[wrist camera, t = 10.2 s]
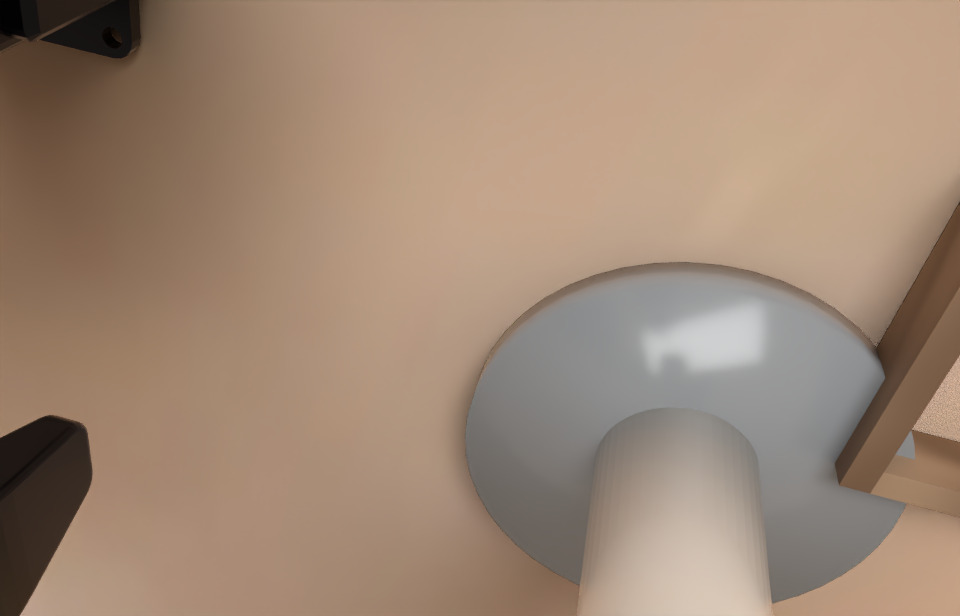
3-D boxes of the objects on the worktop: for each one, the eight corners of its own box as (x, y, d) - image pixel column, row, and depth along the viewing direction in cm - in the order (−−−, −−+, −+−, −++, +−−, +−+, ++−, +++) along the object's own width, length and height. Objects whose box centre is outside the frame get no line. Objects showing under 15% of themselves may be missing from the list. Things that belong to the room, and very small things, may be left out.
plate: (446, 521, 29) (437, 549, 28) (515, 212, 22) (507, 235, 21) (803, 619, 28) (807, 651, 27) (993, 332, 21) (1008, 361, 20)
